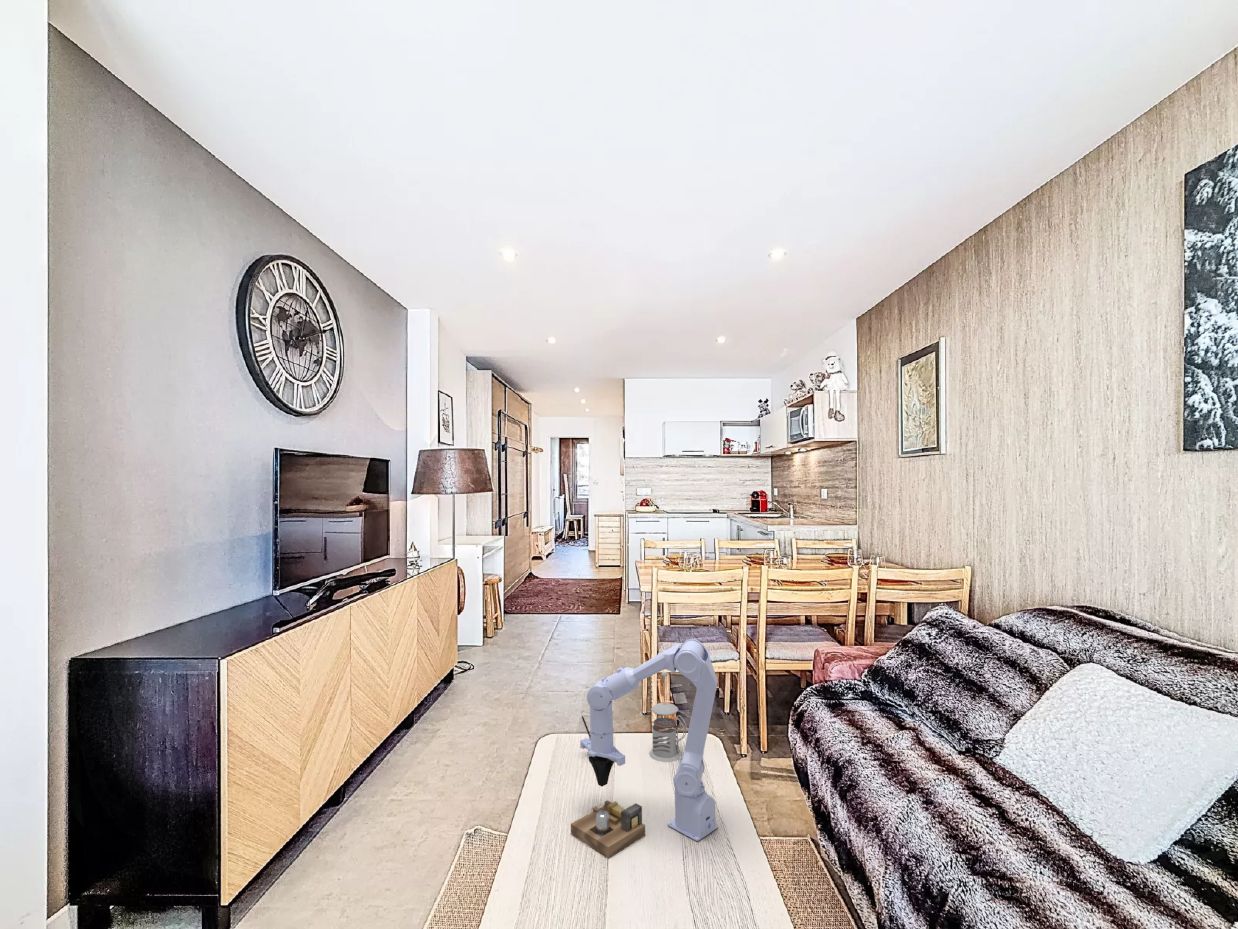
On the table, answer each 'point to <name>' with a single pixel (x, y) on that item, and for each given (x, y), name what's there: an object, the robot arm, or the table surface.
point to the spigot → (602, 823)
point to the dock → (610, 830)
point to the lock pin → (616, 812)
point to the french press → (669, 749)
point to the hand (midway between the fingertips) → (602, 784)
